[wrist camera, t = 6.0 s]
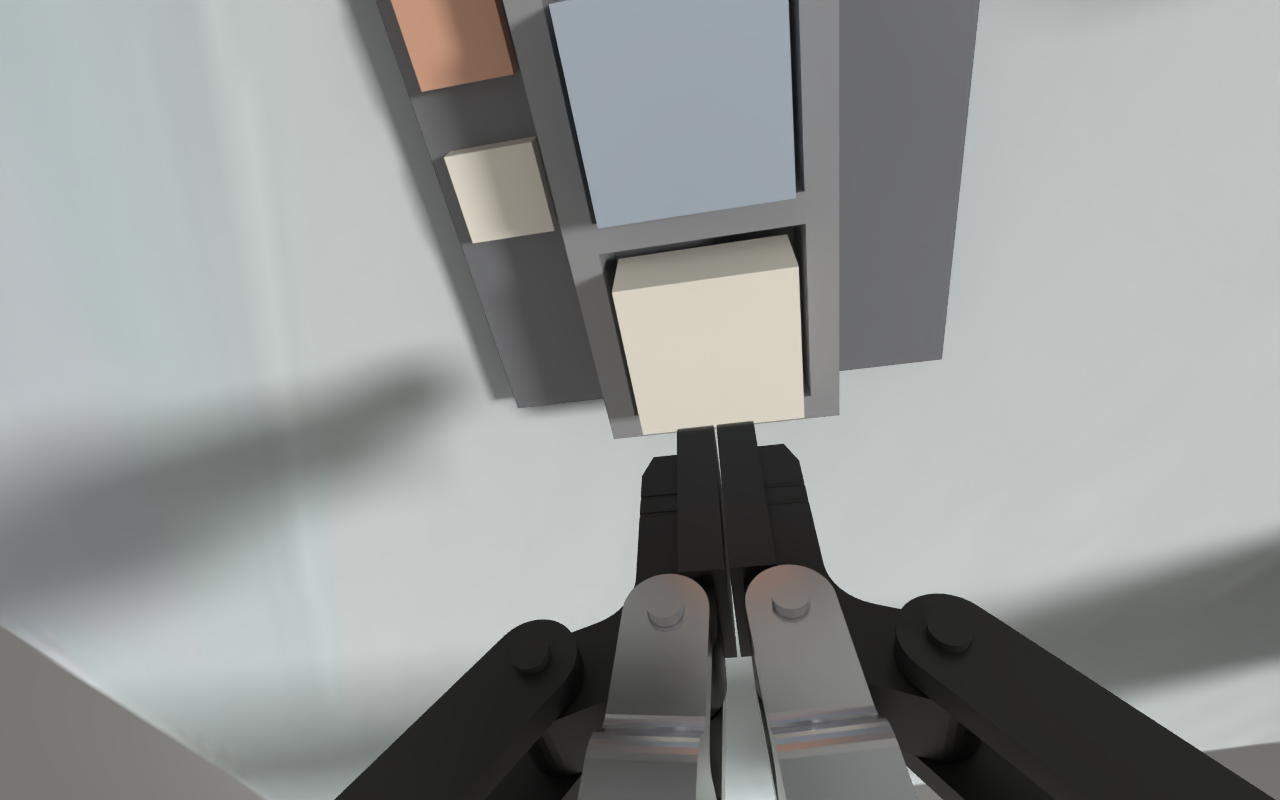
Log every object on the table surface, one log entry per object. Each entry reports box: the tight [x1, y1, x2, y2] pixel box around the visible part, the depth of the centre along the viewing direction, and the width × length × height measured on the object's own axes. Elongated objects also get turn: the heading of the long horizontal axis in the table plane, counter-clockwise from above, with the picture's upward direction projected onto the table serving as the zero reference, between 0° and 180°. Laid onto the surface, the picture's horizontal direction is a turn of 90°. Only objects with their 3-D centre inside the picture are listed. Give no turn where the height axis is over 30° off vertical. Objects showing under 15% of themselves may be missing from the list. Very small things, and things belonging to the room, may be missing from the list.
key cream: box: [612, 234, 804, 435], centre depth 17 cm, size 4×4×2 cm
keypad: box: [376, 0, 980, 439], centre depth 16 cm, size 14×19×4 cm
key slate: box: [549, 0, 796, 229], centre depth 14 cm, size 4×4×2 cm
